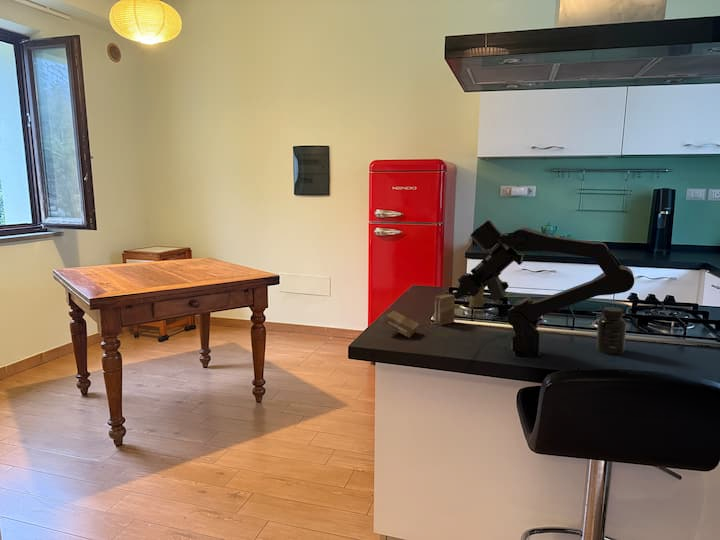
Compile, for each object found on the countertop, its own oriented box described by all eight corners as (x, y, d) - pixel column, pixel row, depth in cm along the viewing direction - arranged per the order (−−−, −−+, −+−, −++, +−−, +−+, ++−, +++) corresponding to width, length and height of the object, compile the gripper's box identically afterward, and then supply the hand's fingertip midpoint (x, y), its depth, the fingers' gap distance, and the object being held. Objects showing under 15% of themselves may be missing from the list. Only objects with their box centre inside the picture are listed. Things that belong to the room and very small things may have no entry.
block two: (454, 321, 156) (454, 295, 154) (440, 325, 152) (440, 298, 151) (447, 319, 158) (447, 293, 157) (433, 323, 155) (434, 296, 153)
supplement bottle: (595, 345, 135) (598, 304, 133) (622, 348, 133) (625, 306, 131) (596, 353, 129) (600, 311, 127) (625, 356, 127) (629, 313, 124)
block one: (419, 323, 146) (393, 310, 148) (412, 329, 140) (386, 315, 143) (415, 332, 147) (390, 318, 149) (409, 338, 141) (382, 324, 144)
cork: (466, 312, 172) (467, 282, 170) (470, 308, 177) (471, 279, 175) (483, 314, 169) (484, 284, 167) (487, 310, 174) (487, 281, 172)
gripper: (509, 292, 121) (466, 328, 128) (521, 278, 137) (482, 311, 144) (479, 259, 123) (438, 297, 130) (495, 250, 139) (457, 283, 146)
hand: (455, 298), depth 138 cm, fingers closed
